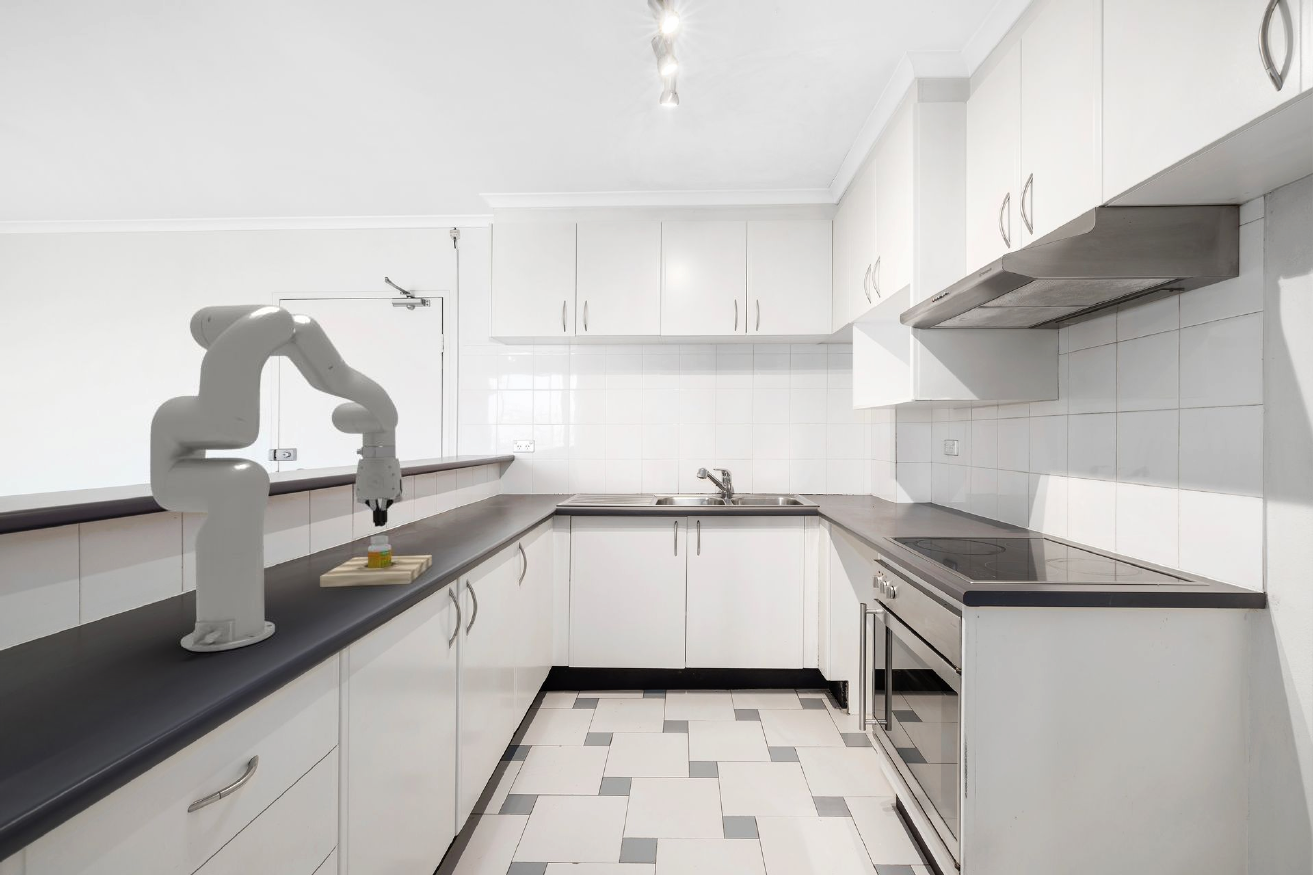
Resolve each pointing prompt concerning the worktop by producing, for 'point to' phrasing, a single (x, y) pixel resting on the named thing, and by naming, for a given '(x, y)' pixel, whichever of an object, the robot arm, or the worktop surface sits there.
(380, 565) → the supplement bottle
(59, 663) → the worktop surface
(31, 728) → the worktop surface
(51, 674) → the worktop surface
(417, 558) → the plate
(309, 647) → the worktop surface
